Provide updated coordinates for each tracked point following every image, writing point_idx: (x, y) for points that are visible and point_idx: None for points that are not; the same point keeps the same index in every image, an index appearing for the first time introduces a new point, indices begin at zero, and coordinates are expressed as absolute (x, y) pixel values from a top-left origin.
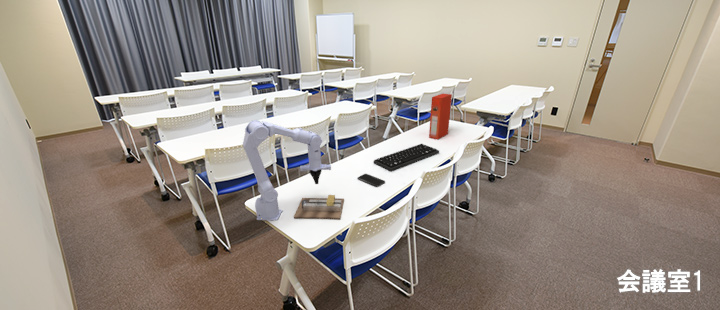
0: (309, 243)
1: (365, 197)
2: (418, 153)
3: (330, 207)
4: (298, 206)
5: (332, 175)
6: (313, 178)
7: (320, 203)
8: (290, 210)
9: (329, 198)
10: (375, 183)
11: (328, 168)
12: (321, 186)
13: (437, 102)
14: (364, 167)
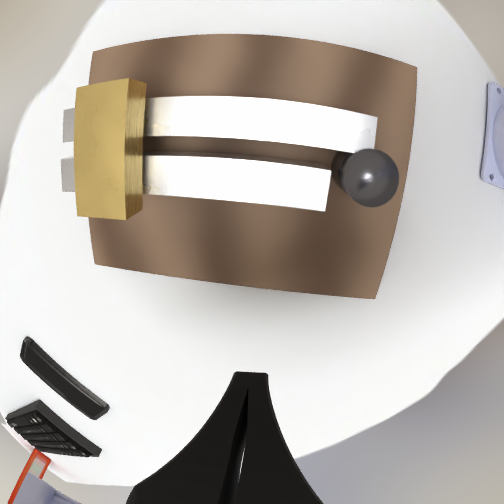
0: None
1: (30, 272)
2: (22, 428)
3: None
4: (402, 190)
5: None
6: (279, 439)
7: (218, 156)
8: (442, 170)
9: (107, 152)
10: (37, 358)
11: (42, 501)
12: None
13: None
14: (117, 445)
